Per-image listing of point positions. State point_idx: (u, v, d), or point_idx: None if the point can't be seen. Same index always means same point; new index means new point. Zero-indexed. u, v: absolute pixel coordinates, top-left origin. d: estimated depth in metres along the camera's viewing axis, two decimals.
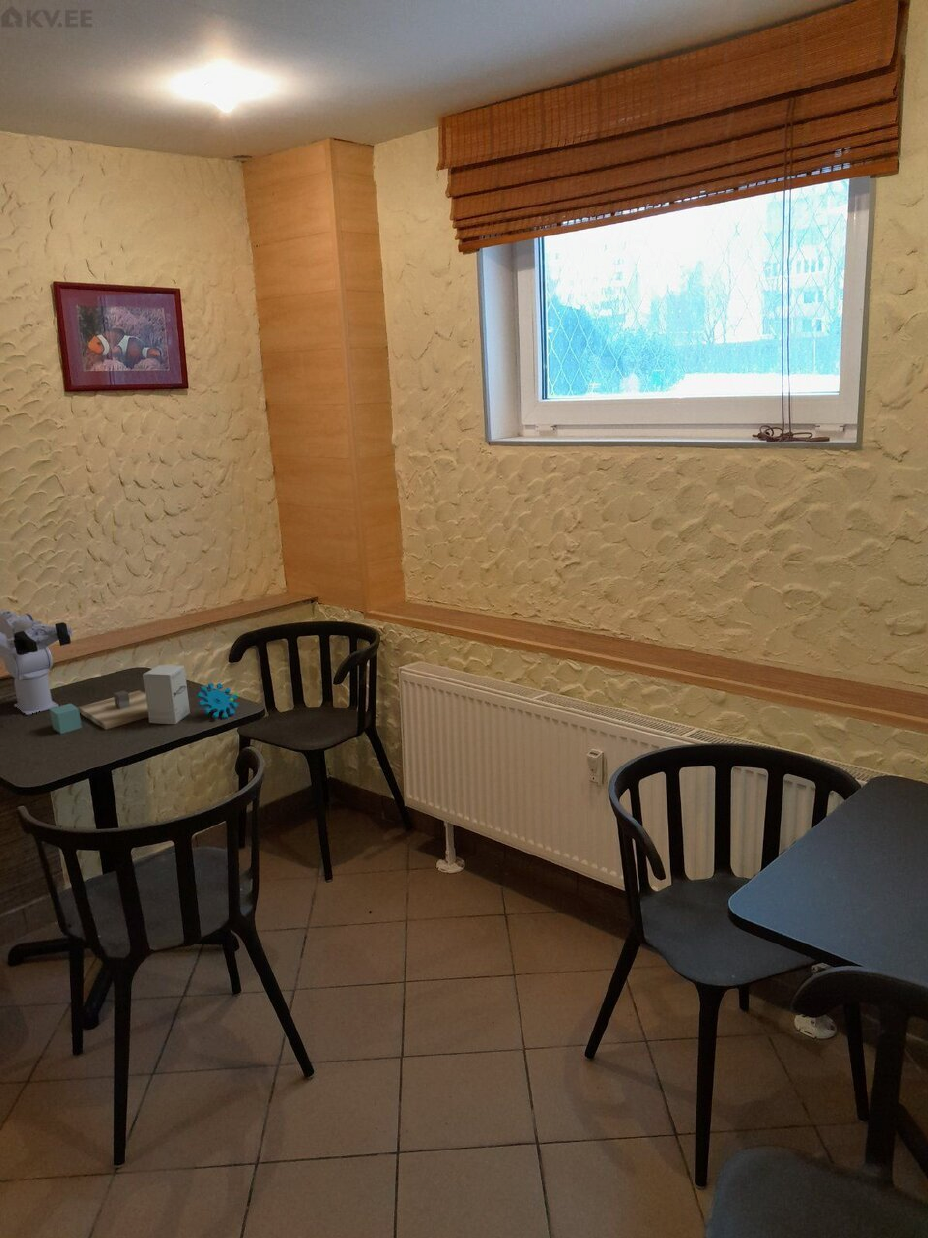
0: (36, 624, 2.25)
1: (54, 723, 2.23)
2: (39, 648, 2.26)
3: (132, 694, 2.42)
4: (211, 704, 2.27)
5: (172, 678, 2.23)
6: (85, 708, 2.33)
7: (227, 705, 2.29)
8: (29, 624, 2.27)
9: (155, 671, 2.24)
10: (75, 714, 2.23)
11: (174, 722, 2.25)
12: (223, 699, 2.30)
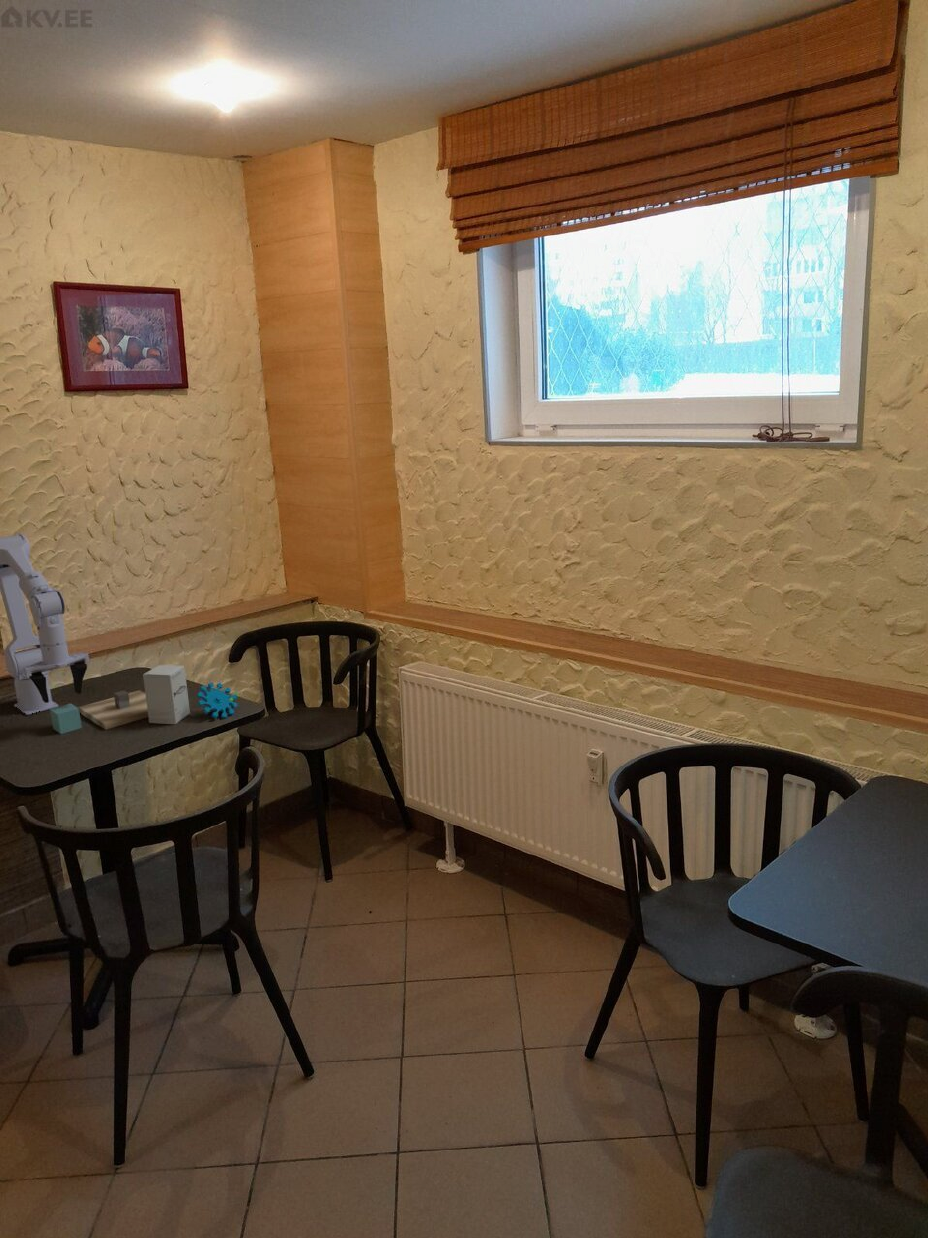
0: None
1: (54, 723, 2.23)
2: None
3: (132, 694, 2.42)
4: (211, 703, 2.27)
5: (172, 678, 2.23)
6: (85, 708, 2.33)
7: (227, 704, 2.29)
8: (55, 651, 2.17)
9: (155, 671, 2.24)
10: (75, 714, 2.23)
11: (174, 722, 2.25)
12: (223, 699, 2.30)
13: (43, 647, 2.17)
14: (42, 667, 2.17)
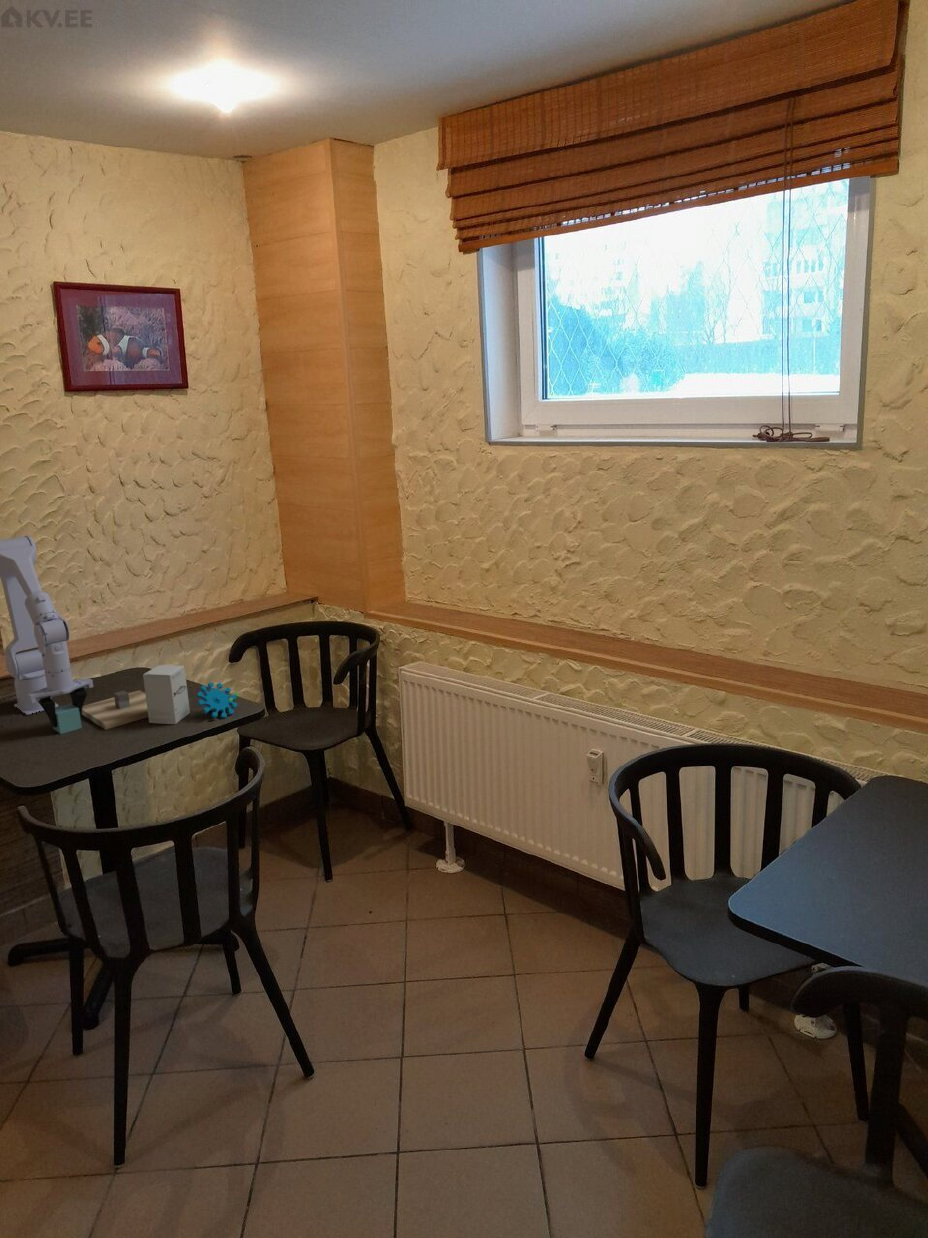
0: (65, 692, 2.20)
1: None
2: None
3: (132, 694, 2.42)
4: (211, 703, 2.27)
5: (172, 678, 2.23)
6: (85, 708, 2.33)
7: (227, 704, 2.30)
8: (60, 678, 2.19)
9: (155, 671, 2.24)
10: (75, 714, 2.23)
11: (174, 722, 2.25)
12: (223, 699, 2.30)
13: (48, 674, 2.19)
14: (47, 694, 2.18)
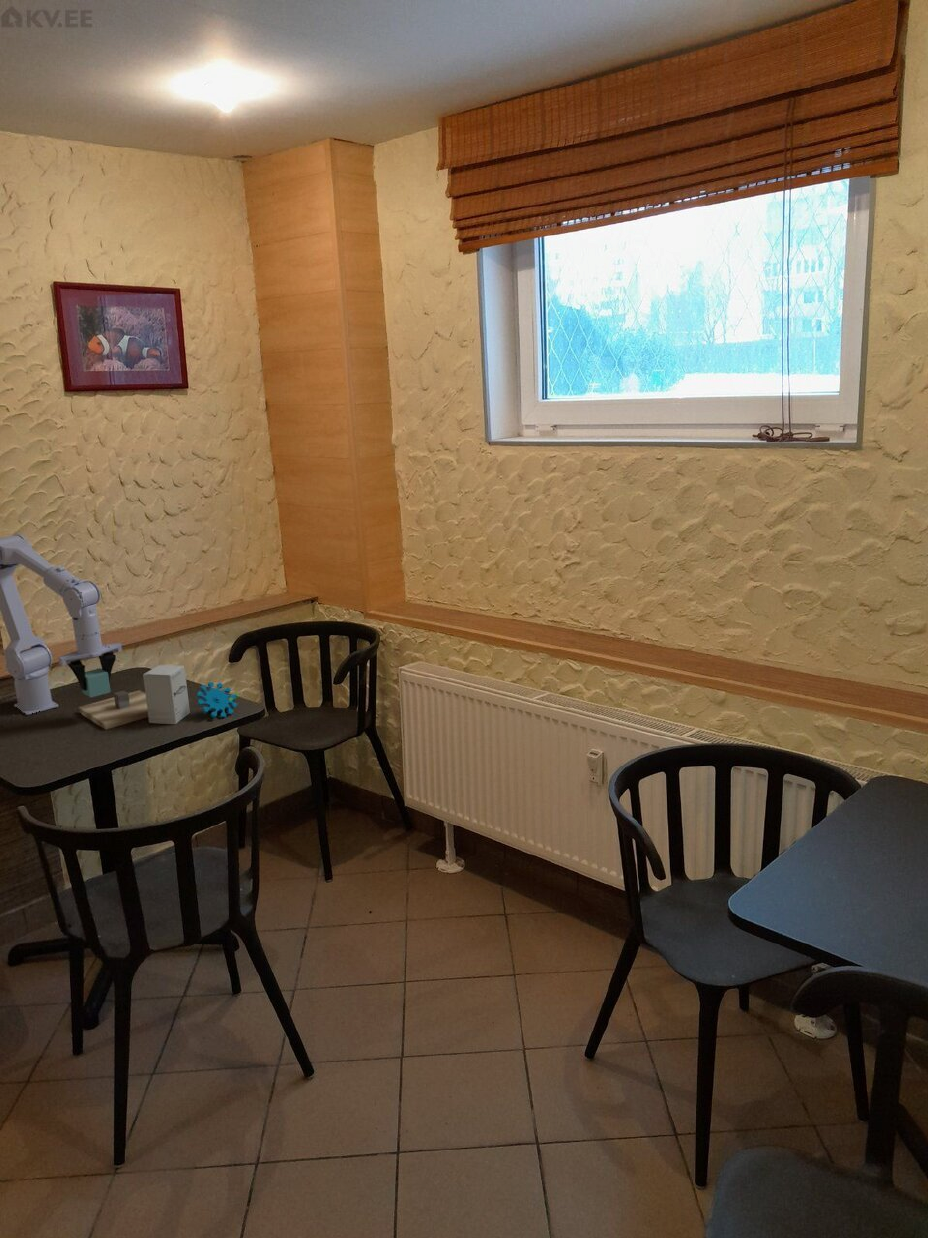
0: None
1: None
2: None
3: (132, 694, 2.42)
4: (210, 703, 2.27)
5: (172, 678, 2.23)
6: (85, 708, 2.33)
7: (226, 704, 2.30)
8: (90, 641, 2.22)
9: (155, 671, 2.24)
10: (104, 678, 2.26)
11: (174, 722, 2.25)
12: (222, 699, 2.30)
13: (78, 637, 2.22)
14: (77, 657, 2.22)
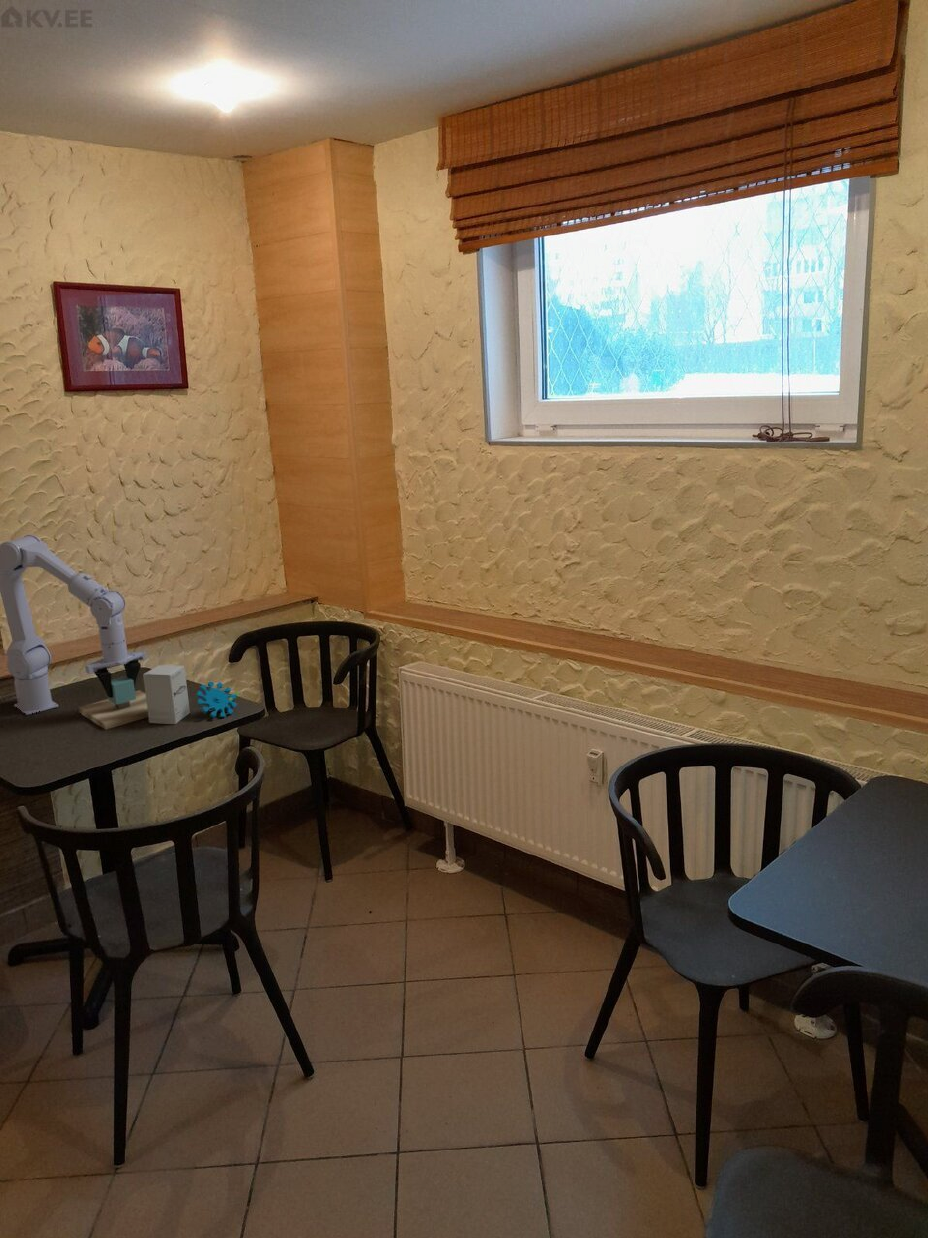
0: None
1: None
2: None
3: None
4: (210, 703, 2.27)
5: (172, 678, 2.23)
6: (85, 708, 2.33)
7: (226, 704, 2.30)
8: (116, 650, 2.27)
9: (155, 671, 2.24)
10: (130, 685, 2.31)
11: (174, 722, 2.25)
12: (222, 698, 2.30)
13: (104, 646, 2.27)
14: (103, 665, 2.27)
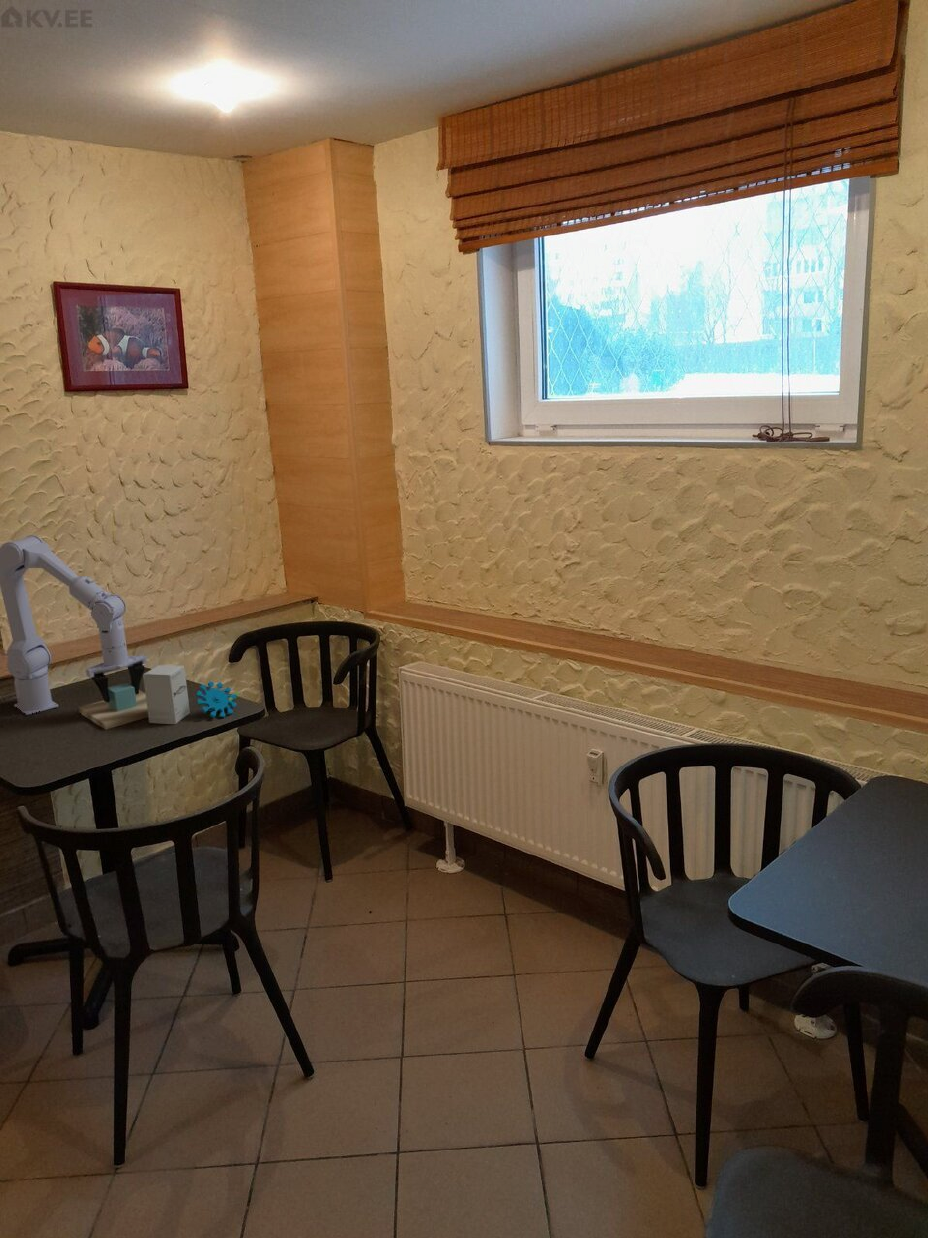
0: (121, 667, 2.28)
1: (111, 701, 2.32)
2: None
3: None
4: (209, 703, 2.28)
5: (172, 678, 2.23)
6: (85, 708, 2.33)
7: (226, 704, 2.30)
8: (116, 654, 2.27)
9: (155, 671, 2.24)
10: (131, 692, 2.32)
11: (174, 722, 2.25)
12: (222, 698, 2.30)
13: (105, 649, 2.27)
14: (104, 668, 2.27)
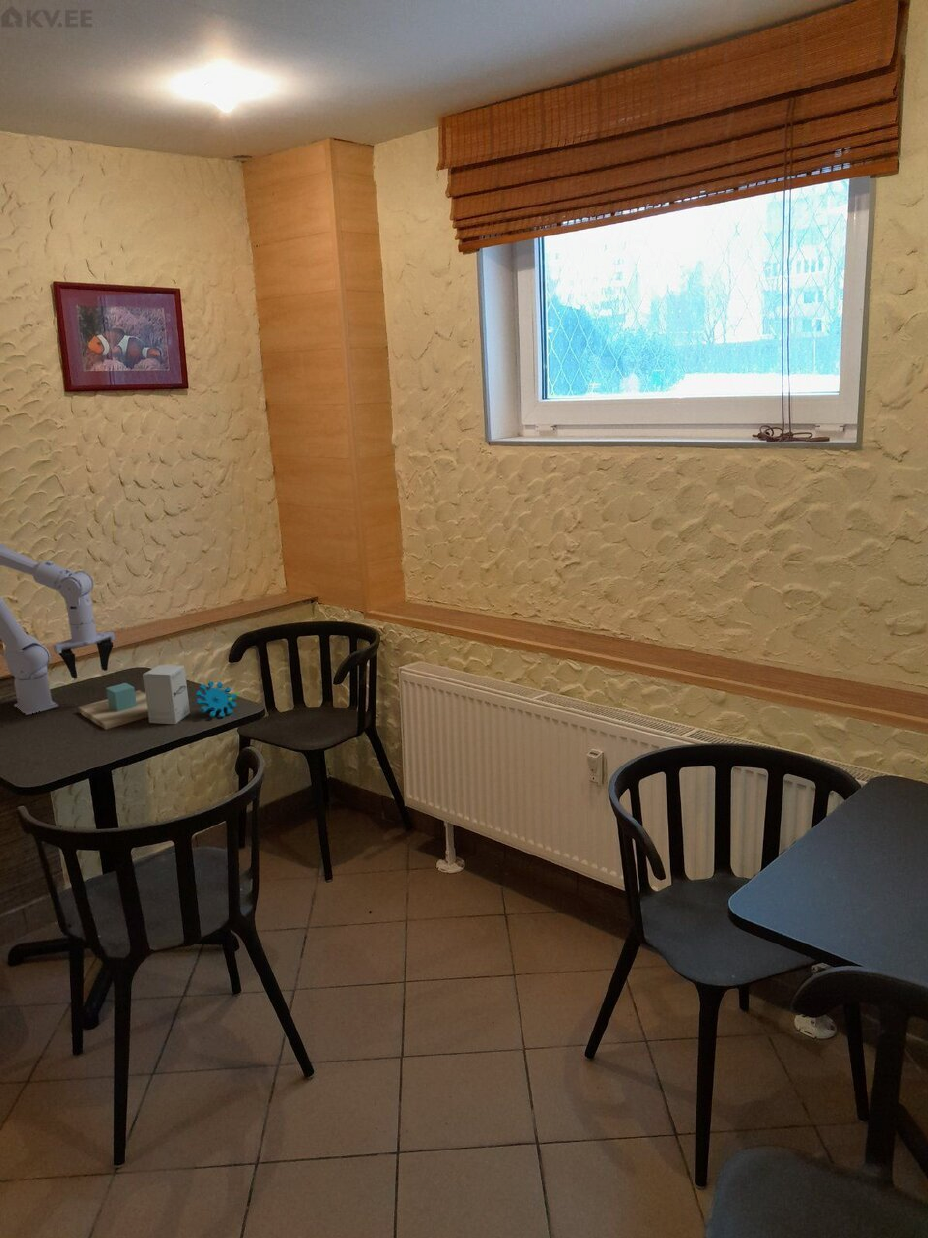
0: None
1: (111, 701, 2.32)
2: None
3: None
4: (209, 702, 2.28)
5: (172, 678, 2.23)
6: (85, 708, 2.33)
7: (226, 704, 2.30)
8: (84, 630, 2.29)
9: (155, 671, 2.24)
10: (131, 692, 2.32)
11: (174, 722, 2.25)
12: (222, 698, 2.30)
13: (72, 625, 2.28)
14: (71, 644, 2.28)
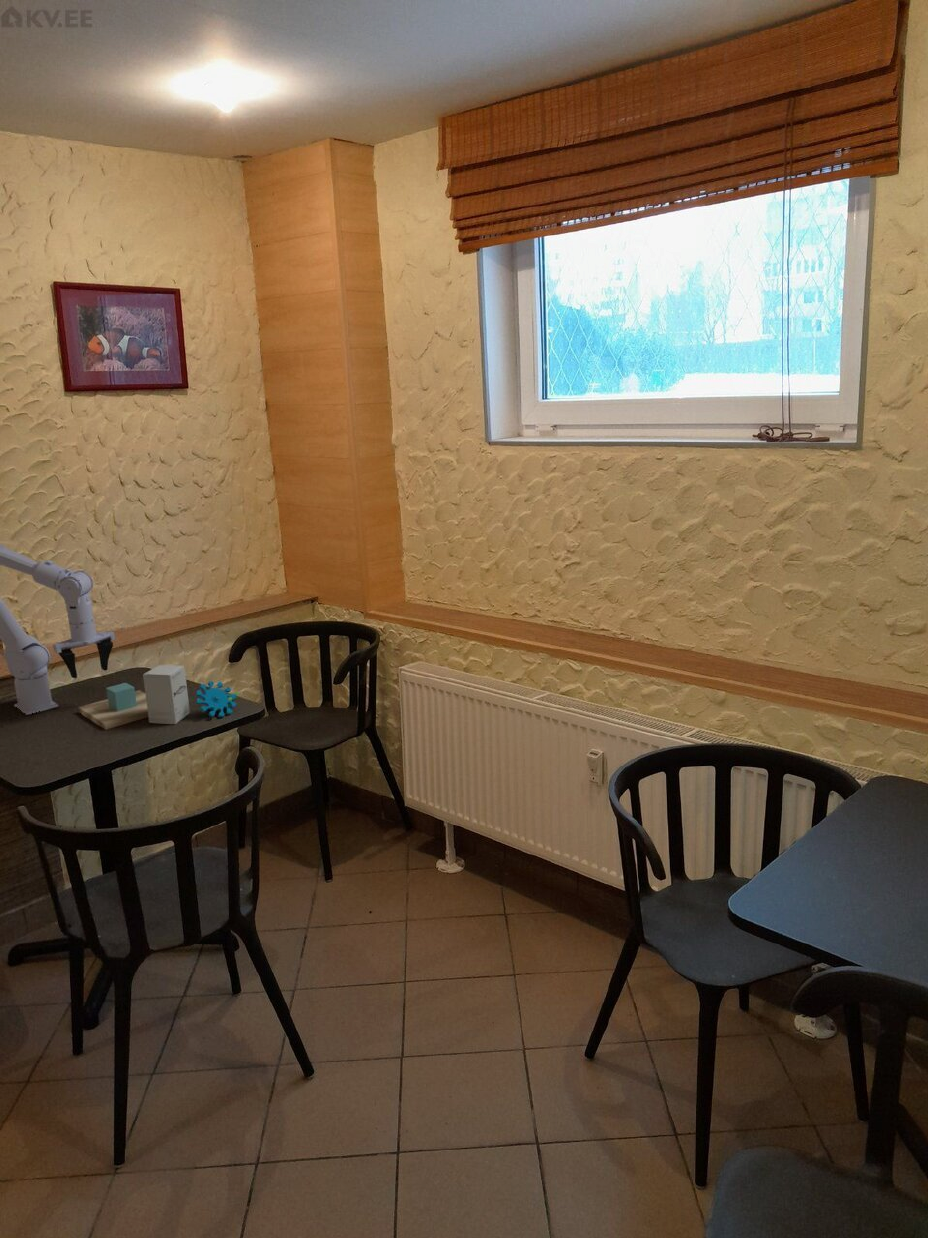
0: (89, 643, 2.30)
1: (111, 701, 2.32)
2: None
3: None
4: (209, 702, 2.28)
5: (172, 678, 2.23)
6: (85, 708, 2.33)
7: (225, 704, 2.30)
8: (84, 629, 2.29)
9: (155, 671, 2.24)
10: (131, 692, 2.32)
11: (174, 722, 2.25)
12: (221, 698, 2.30)
13: (72, 625, 2.29)
14: (71, 644, 2.28)
